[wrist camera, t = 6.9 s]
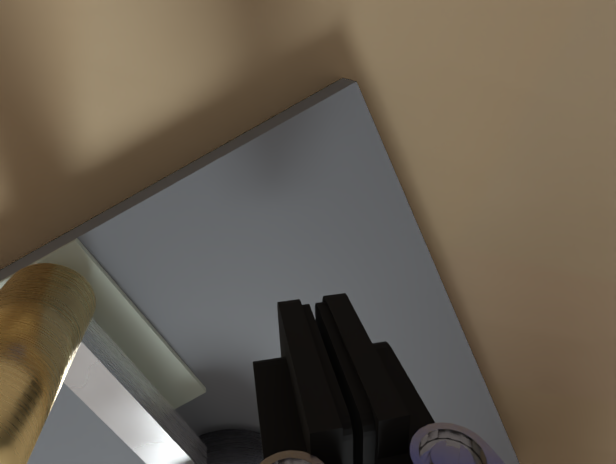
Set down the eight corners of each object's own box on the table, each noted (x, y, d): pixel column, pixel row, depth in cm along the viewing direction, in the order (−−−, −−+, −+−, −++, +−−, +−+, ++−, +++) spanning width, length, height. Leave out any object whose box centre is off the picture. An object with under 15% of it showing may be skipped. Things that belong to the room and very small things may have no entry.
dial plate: (511, 462, 24) (534, 494, 22) (155, 652, 24) (151, 697, 22) (342, 77, 14) (359, 82, 13) (-238, 403, 15) (-296, 449, 13)
